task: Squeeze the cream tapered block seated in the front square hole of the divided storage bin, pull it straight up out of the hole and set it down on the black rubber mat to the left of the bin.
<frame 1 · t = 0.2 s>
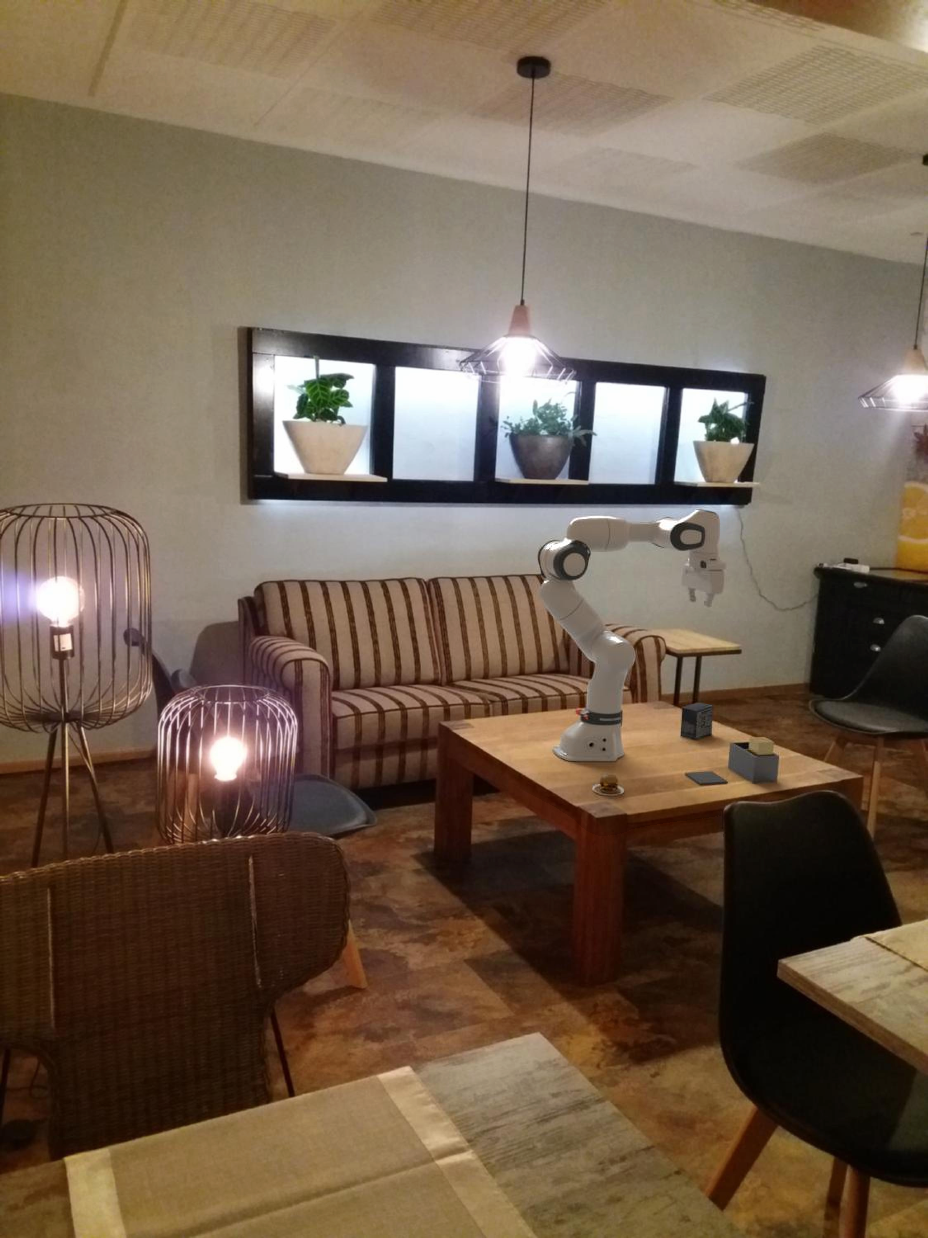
hand: (699, 604, 302), 48 cm above the table, tool pointing down, fingers open, 8 cm apart
divided storage bin: (751, 774, 286), on the table
small box: (695, 736, 325), on the table
hamburger: (607, 793, 269), on the table
mat: (705, 779, 281), on the table
cream tapered block: (759, 765, 282), point 4 cm above the table, touching divided storage bin
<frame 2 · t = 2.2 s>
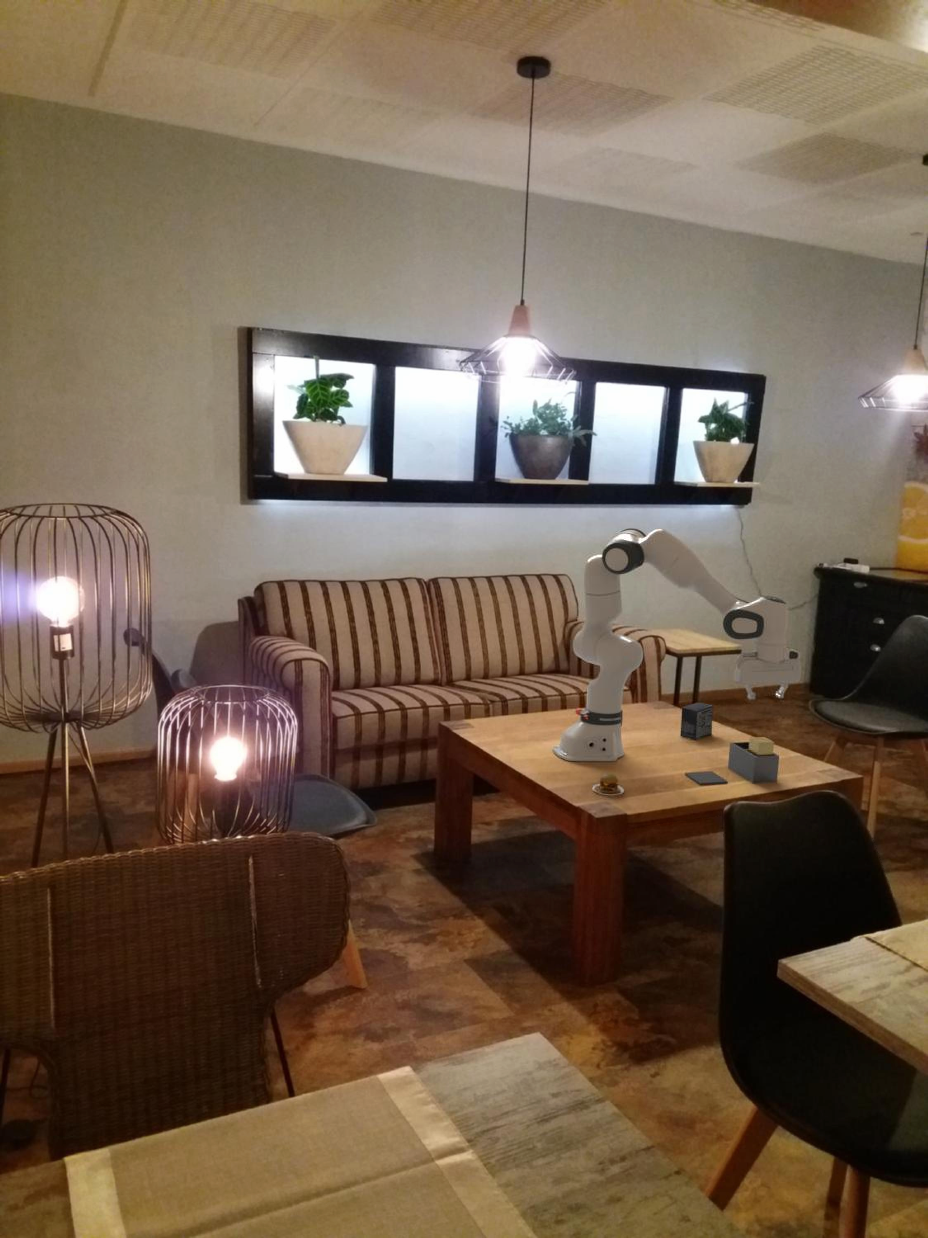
hand: (765, 698, 278), 25 cm above the table, tool pointing down, fingers open, 8 cm apart
nothing on the table moved.
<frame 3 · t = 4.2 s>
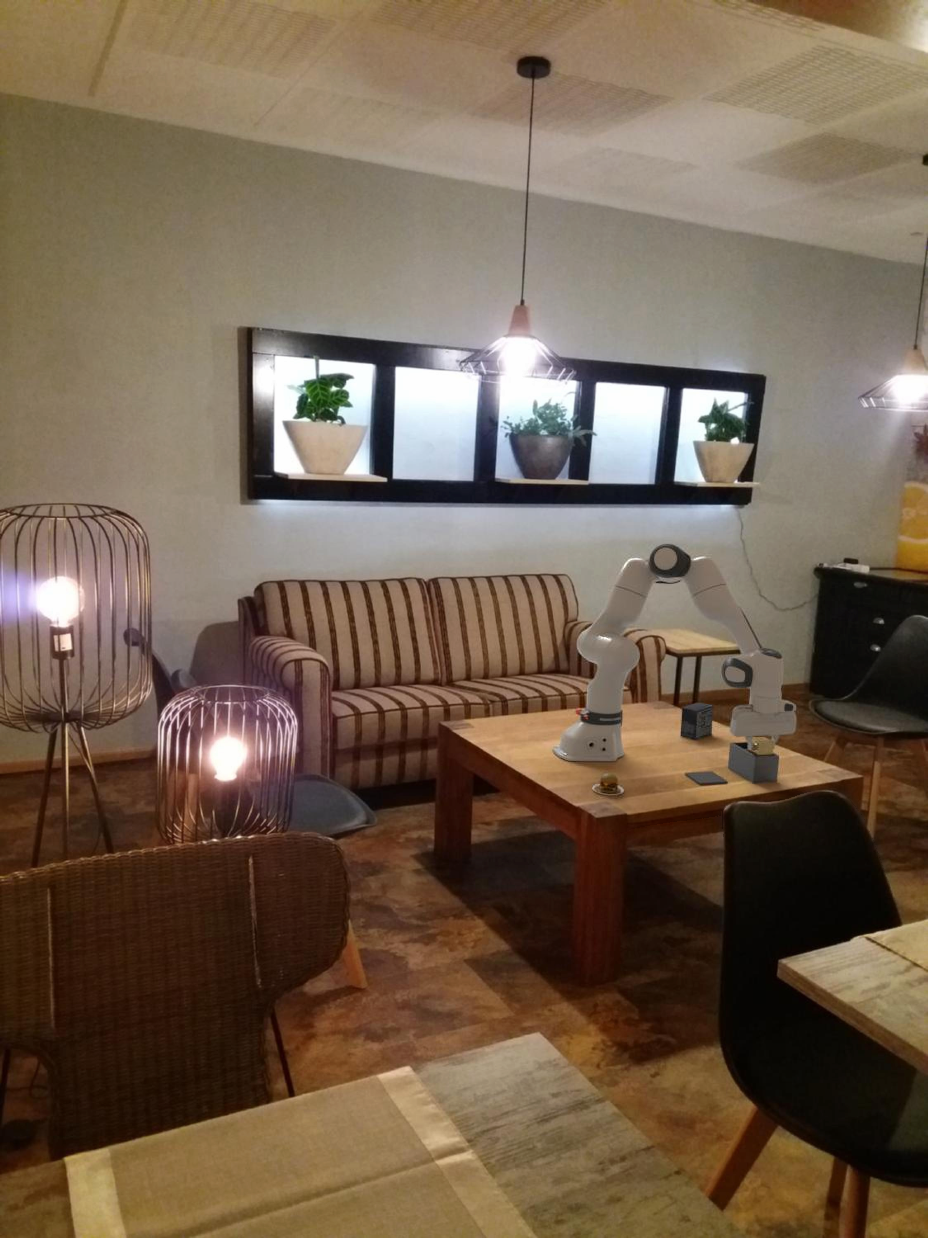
hand: (760, 749, 281), 9 cm above the table, tool pointing down, fingers closed on cream tapered block, 5 cm apart
cream tapered block: (759, 765, 282), point 4 cm above the table, touching gripper, divided storage bin
everything else where it was.
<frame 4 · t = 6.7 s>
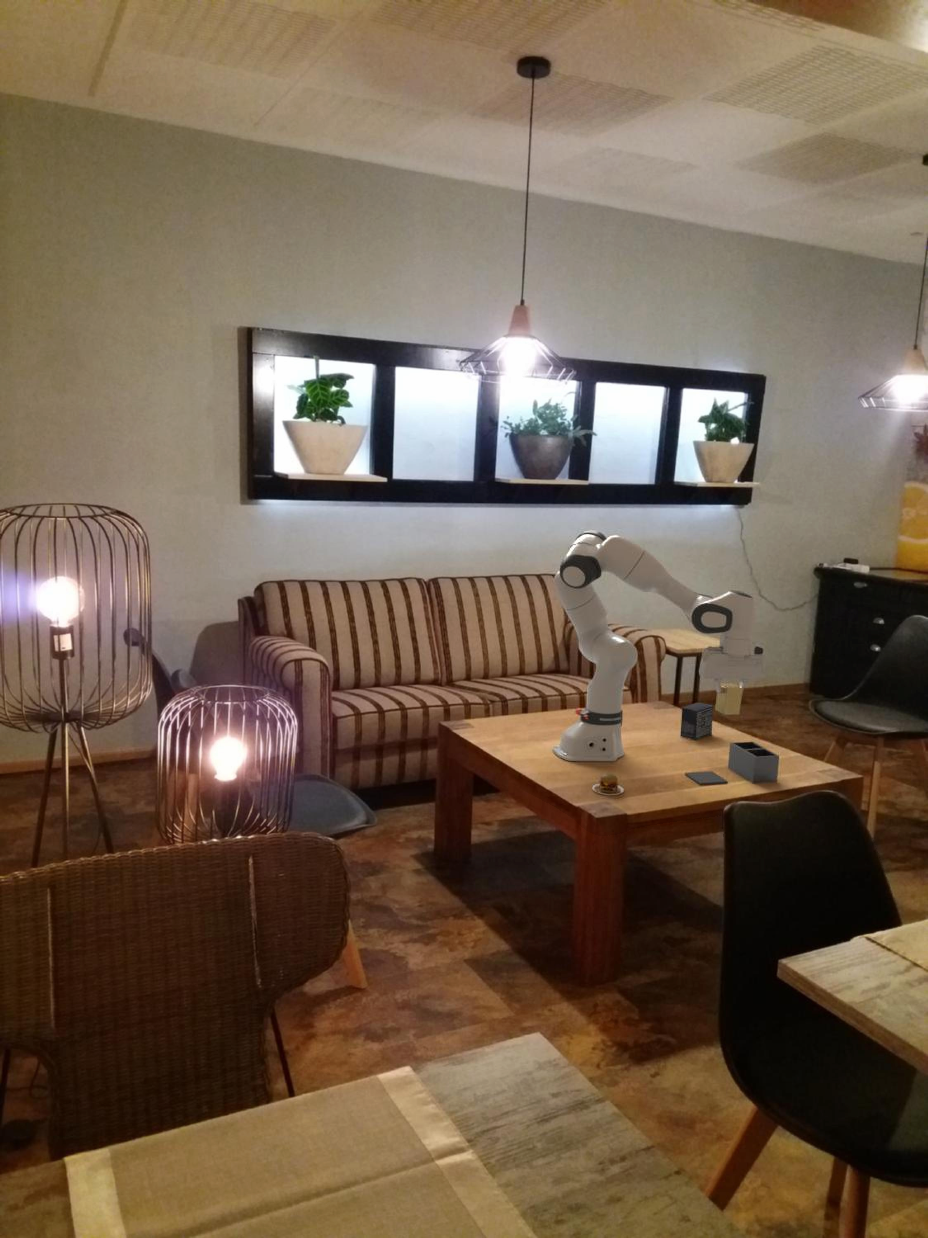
hand: (729, 693, 278), 26 cm above the table, tool pointing down, fingers closed on cream tapered block, 5 cm apart
cream tapered block: (727, 712, 279), point 20 cm above the table, touching gripper
everything else where it was.
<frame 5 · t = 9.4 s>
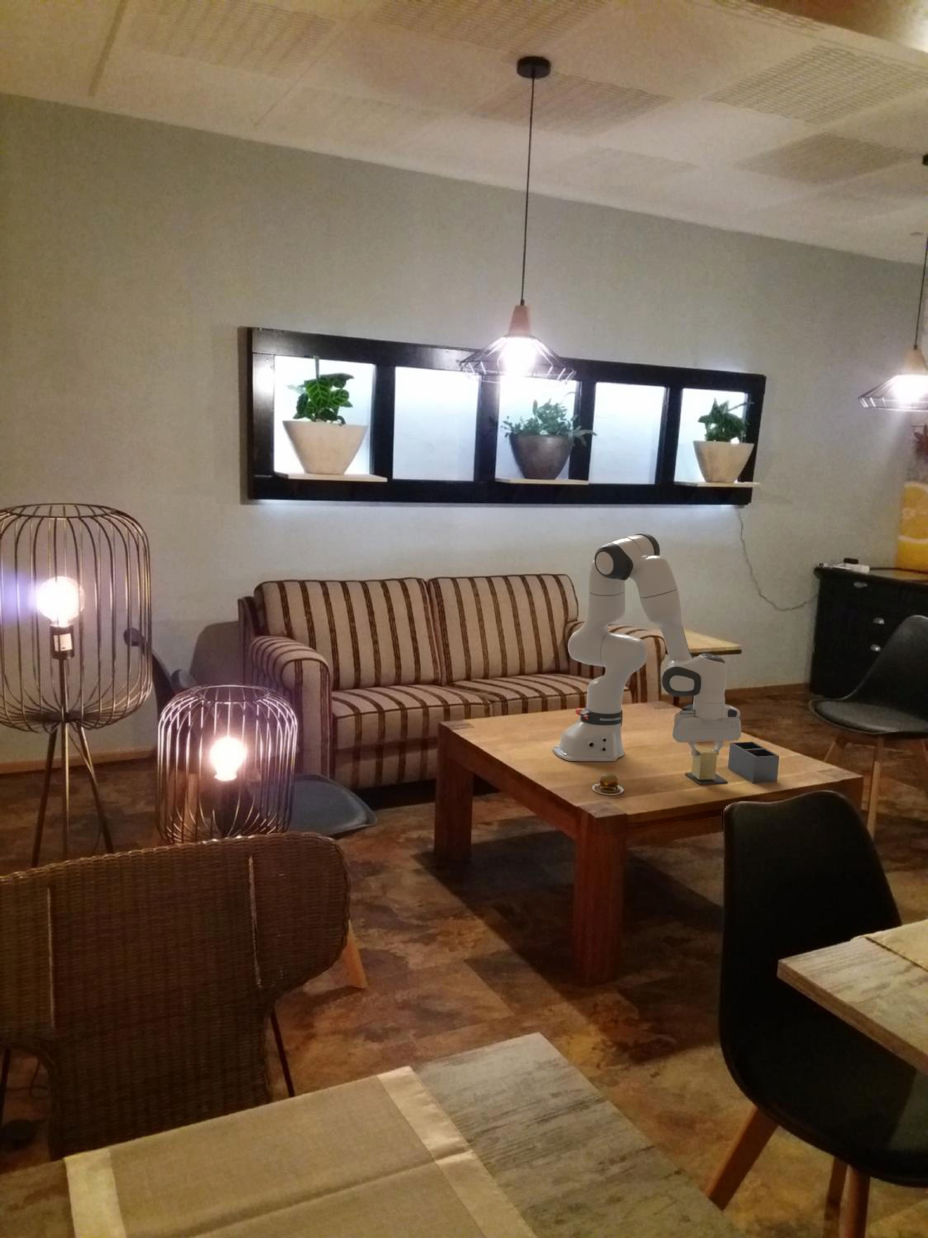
hand: (704, 755, 278), 8 cm above the table, tool pointing down, fingers closed on cream tapered block, 5 cm apart
cream tapered block: (703, 776, 279), point 1 cm above the table, touching gripper
everything else where it was.
when the fingers open (7 cm above the table, at t = 10.1 s): cream tapered block stays where it is, resting on mat.
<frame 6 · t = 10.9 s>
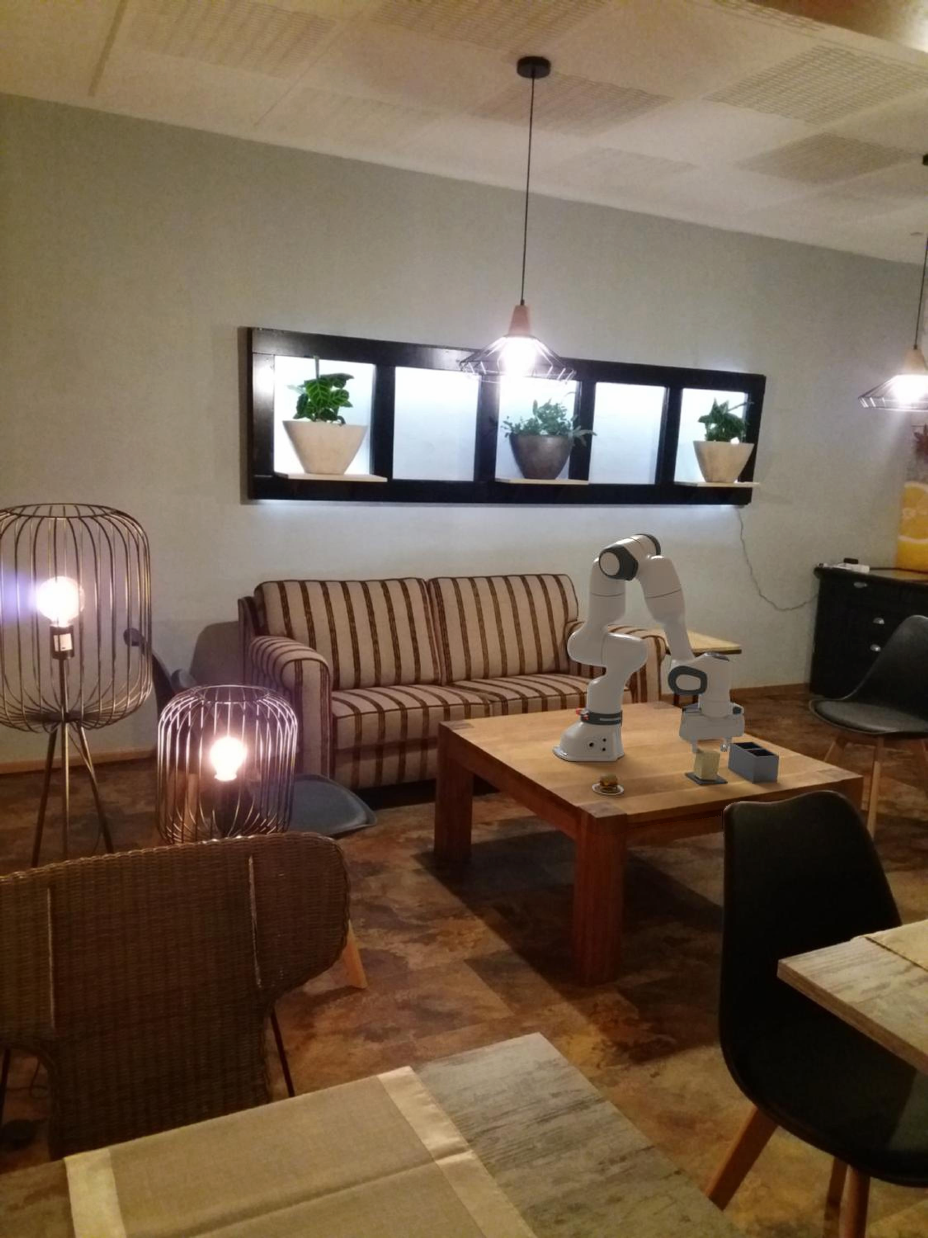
hand: (709, 752, 281), 8 cm above the table, tool pointing down, fingers open, 8 cm apart
cream tapered block: (704, 777, 280), point 1 cm above the table, tilted 6°, touching gripper, mat
everything else where it was.
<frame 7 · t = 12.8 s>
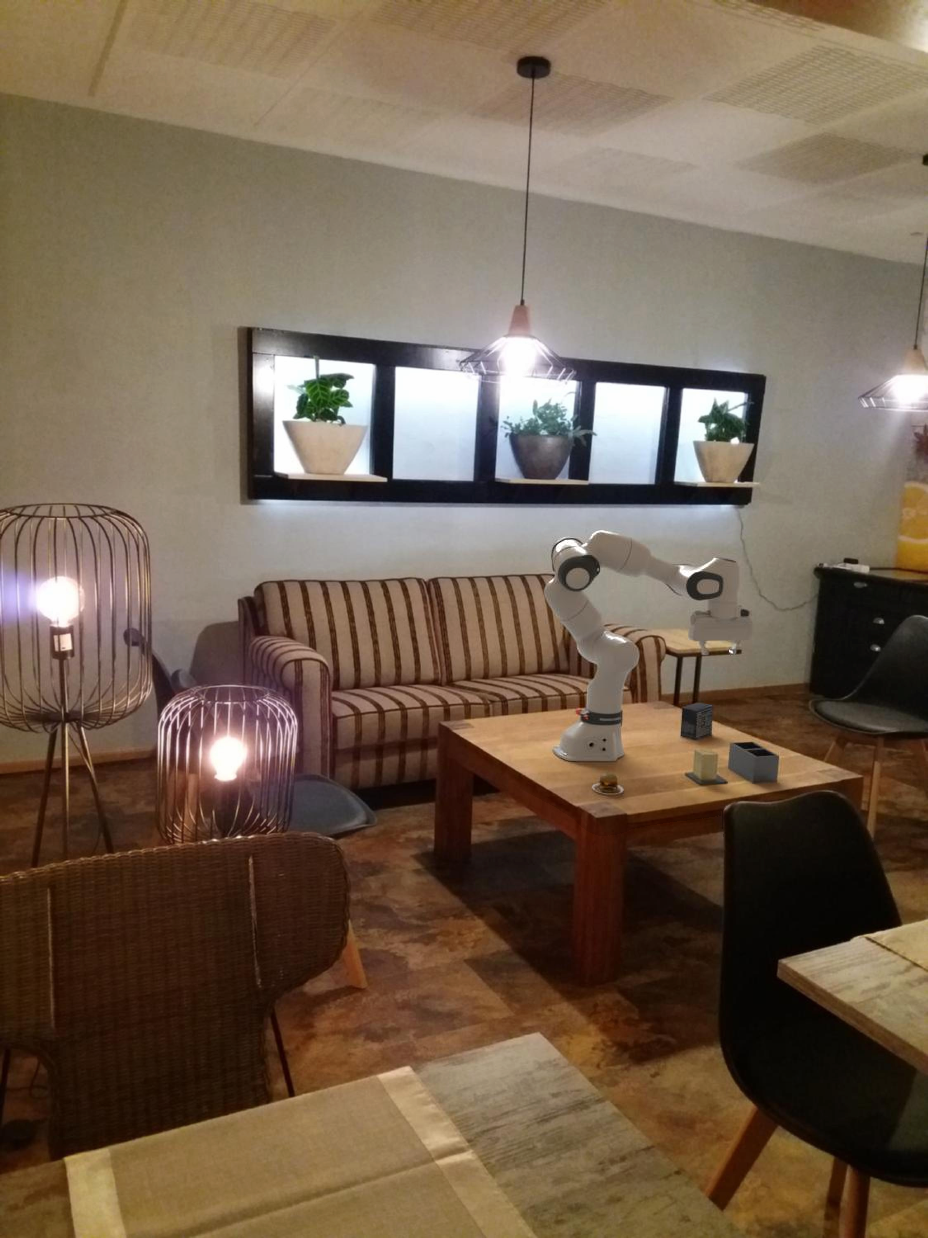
hand: (718, 654, 293), 34 cm above the table, tool pointing down, fingers open, 8 cm apart
cream tapered block: (704, 778, 280), point 1 cm above the table, touching mat
everything else where it was.
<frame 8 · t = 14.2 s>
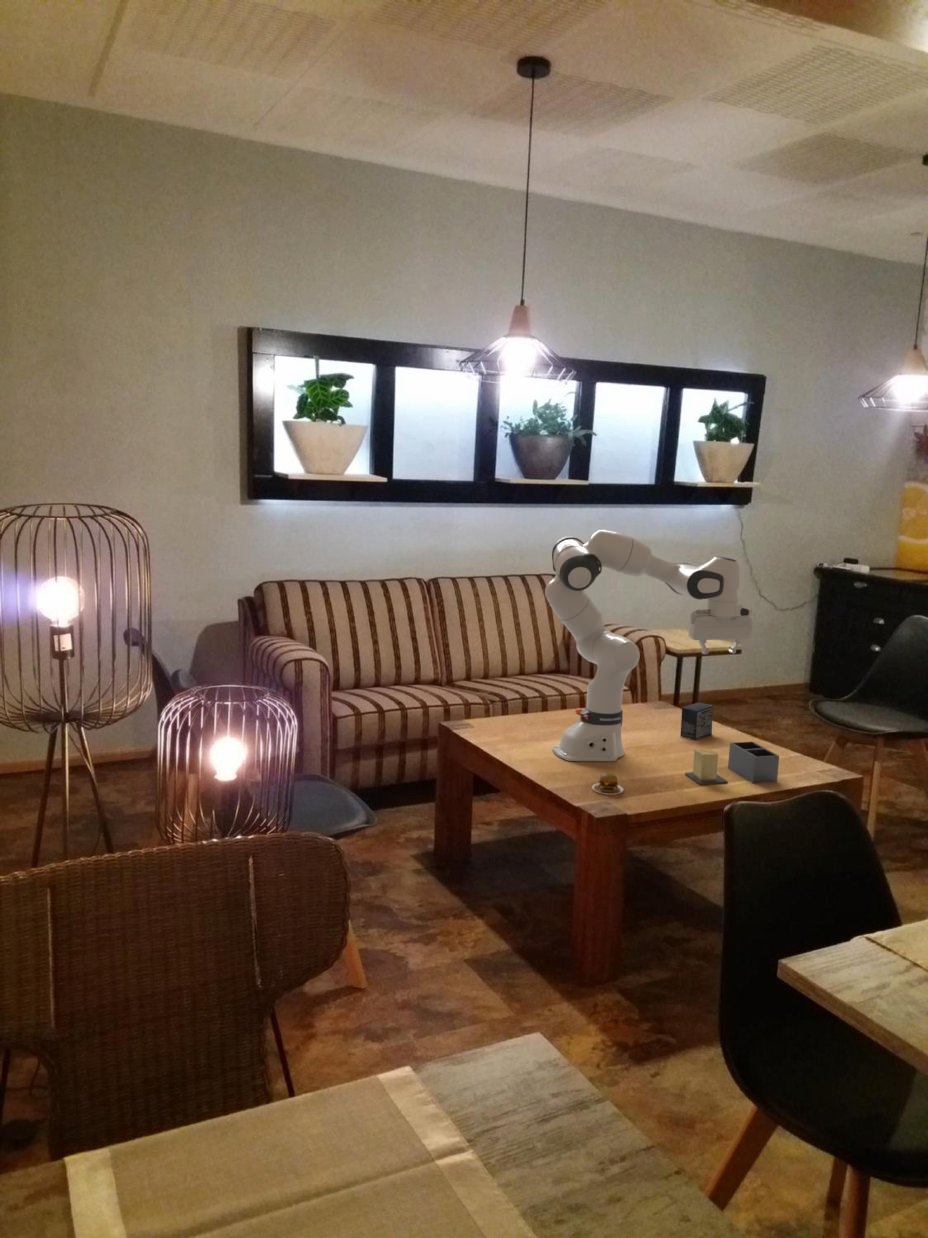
hand: (718, 653, 294), 34 cm above the table, tool pointing down, fingers open, 8 cm apart
at the end: cream tapered block inside the target area on the mat (1.1 cm from its centre), point 0.6 cm above the mat's base; cream tapered block tilted 0°; the gripper is holding nothing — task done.
